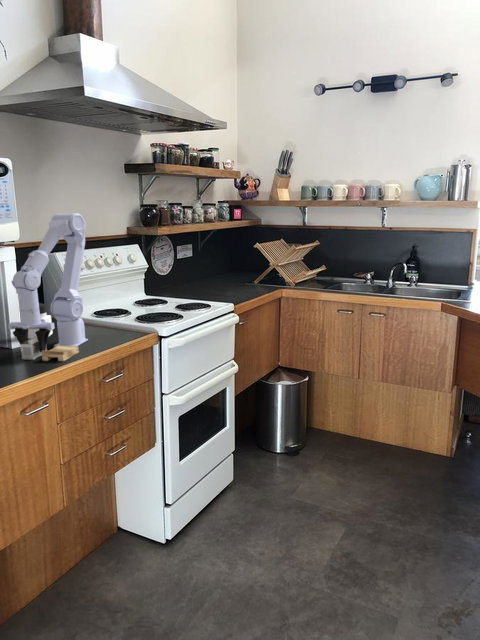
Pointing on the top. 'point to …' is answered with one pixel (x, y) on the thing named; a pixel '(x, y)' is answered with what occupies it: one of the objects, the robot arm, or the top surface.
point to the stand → (60, 353)
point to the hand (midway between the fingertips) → (34, 351)
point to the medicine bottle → (43, 319)
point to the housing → (31, 349)
